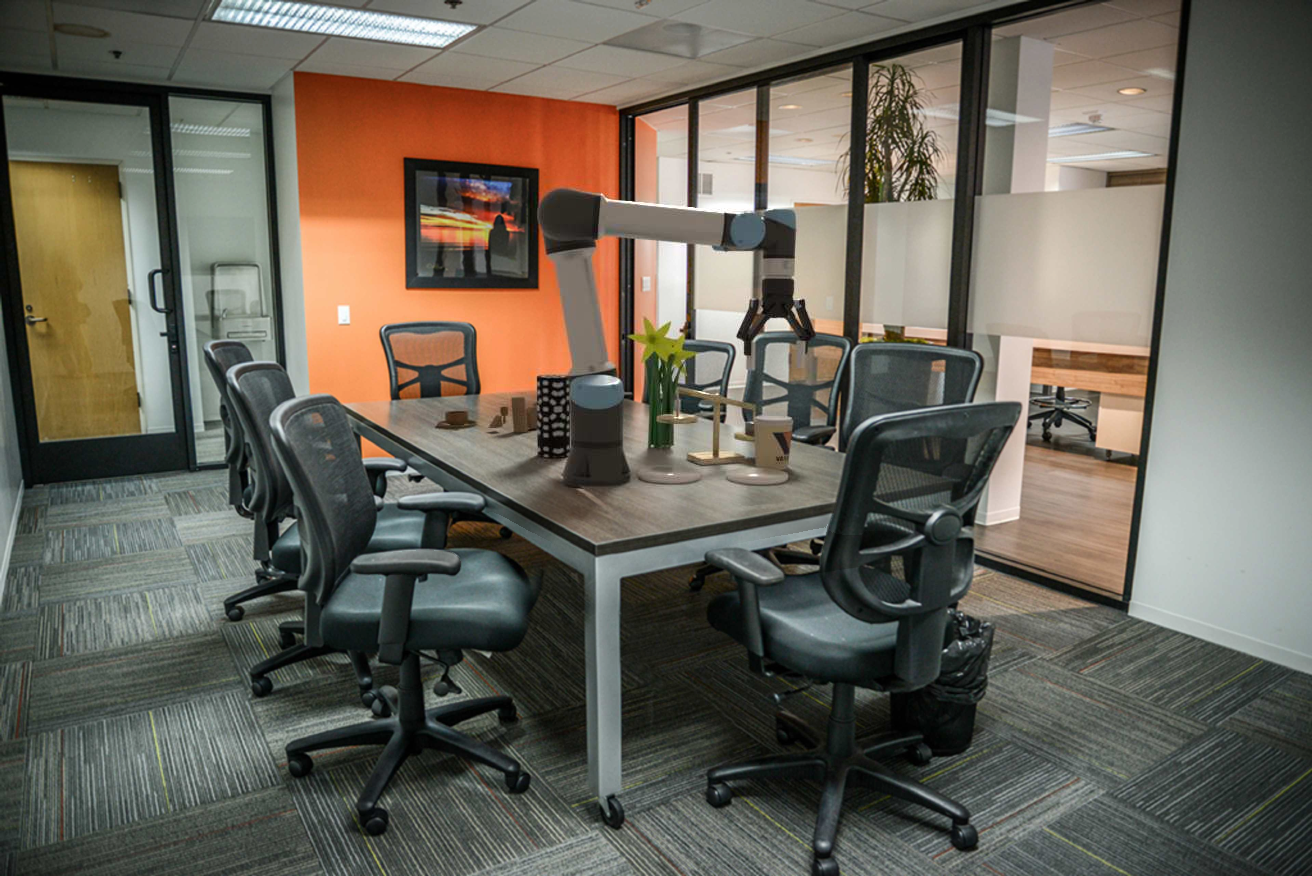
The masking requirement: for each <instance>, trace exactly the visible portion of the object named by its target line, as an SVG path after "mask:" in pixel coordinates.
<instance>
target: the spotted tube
mask: <svg viewBox="0 0 1312 876" xmlns="http://www.w3.org/2000/svg"><path fill="white" fill-rule="evenodd" d="M569 392H570V387H569V381H568V376H567V375H566V374H540V375H537V376H536V403H537V427H536V428H537V429H536V430H537V433H536V434H537V437H536V439H537V441H536V443H537V446H536V447H537V456H539V457H542V458H564V457H568V455H569V452H570V448H571V420H570V394H569Z"/></svg>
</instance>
